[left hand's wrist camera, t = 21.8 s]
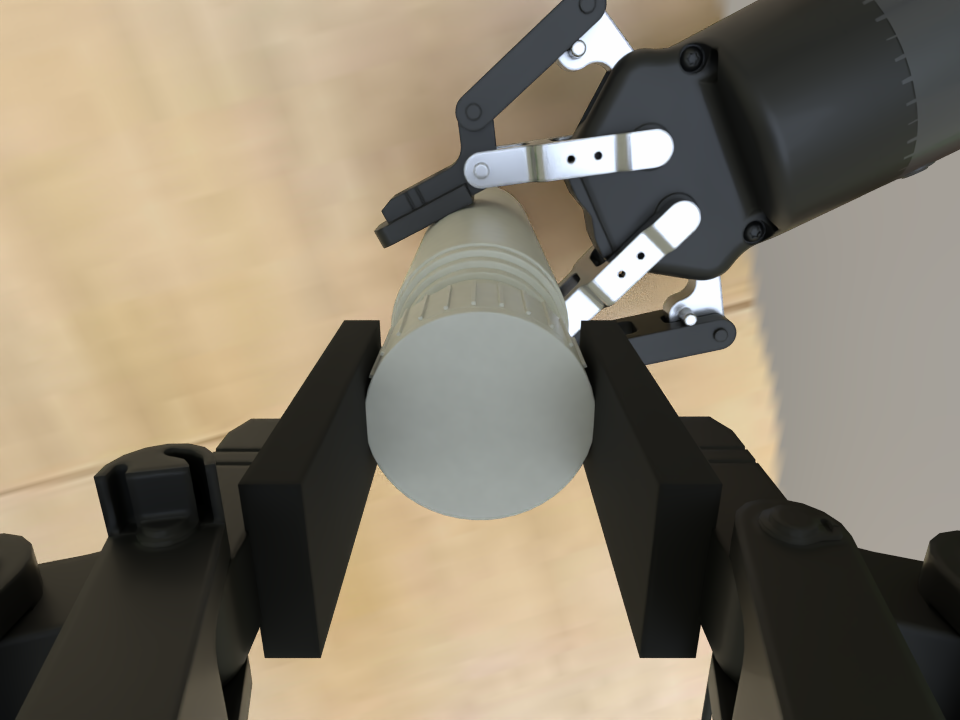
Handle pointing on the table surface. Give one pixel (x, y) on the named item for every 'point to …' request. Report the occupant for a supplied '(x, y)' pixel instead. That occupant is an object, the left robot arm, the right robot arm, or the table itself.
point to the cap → (479, 403)
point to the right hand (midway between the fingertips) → (418, 297)
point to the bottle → (481, 254)
